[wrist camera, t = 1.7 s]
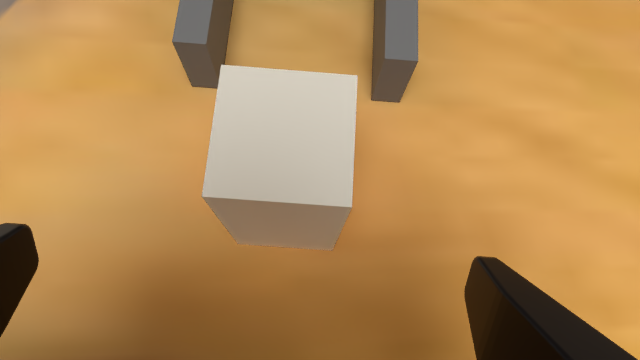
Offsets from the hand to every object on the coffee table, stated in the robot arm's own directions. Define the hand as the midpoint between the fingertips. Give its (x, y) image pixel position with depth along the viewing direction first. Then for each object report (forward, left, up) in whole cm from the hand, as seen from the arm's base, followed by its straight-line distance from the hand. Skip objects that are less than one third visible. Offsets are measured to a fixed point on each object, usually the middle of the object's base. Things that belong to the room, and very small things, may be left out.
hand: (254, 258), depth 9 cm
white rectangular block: (+4, 0, -12) cm, 13 cm away
